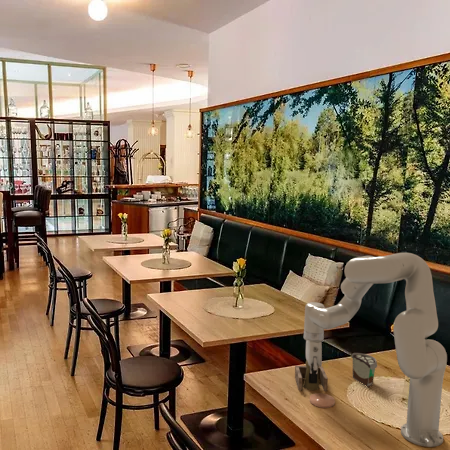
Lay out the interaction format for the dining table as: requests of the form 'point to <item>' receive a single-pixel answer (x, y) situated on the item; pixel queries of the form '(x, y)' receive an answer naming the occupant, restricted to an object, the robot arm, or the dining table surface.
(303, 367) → the walnut shelf bay
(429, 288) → the robot arm
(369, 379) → the food container
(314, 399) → the terracotta coaster
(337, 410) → the dining table surface
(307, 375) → the olive peg doll
